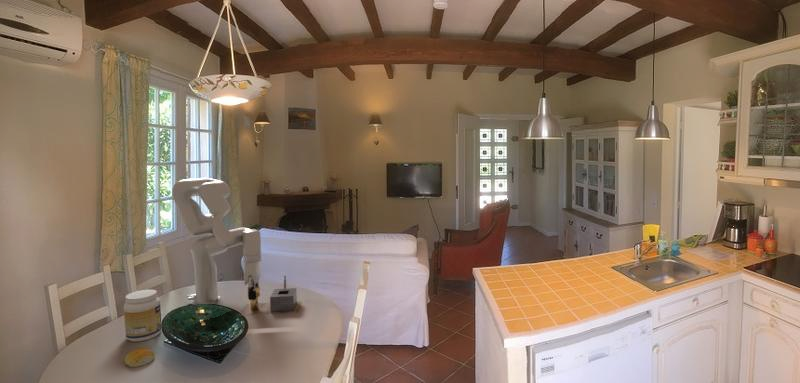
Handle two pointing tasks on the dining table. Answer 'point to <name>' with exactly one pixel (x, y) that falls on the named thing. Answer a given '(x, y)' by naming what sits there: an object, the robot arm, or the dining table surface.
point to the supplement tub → (142, 315)
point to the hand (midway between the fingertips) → (253, 296)
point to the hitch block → (283, 300)
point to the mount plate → (265, 309)
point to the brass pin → (255, 302)
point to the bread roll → (139, 357)
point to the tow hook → (284, 281)
